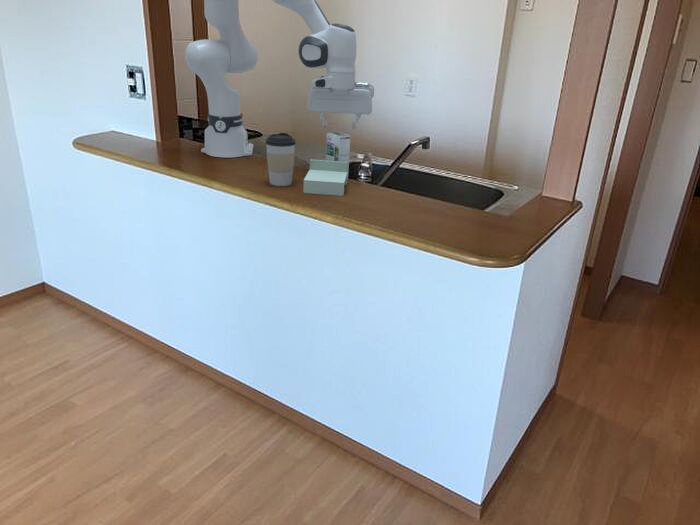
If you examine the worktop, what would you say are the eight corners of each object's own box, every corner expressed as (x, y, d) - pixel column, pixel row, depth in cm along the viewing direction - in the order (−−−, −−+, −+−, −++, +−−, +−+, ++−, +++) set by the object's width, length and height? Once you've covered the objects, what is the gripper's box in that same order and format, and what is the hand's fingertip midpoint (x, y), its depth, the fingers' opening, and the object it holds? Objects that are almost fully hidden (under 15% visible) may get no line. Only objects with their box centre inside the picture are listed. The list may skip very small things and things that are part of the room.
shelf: (309, 180, 177) (310, 159, 174) (347, 183, 176) (348, 162, 173) (303, 192, 165) (303, 170, 162) (343, 195, 165) (344, 173, 162)
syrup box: (324, 176, 182) (325, 132, 176) (338, 174, 186) (340, 130, 180) (335, 181, 178) (336, 135, 172) (349, 178, 182) (351, 134, 176)
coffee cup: (290, 188, 169) (290, 139, 162) (262, 185, 170) (261, 136, 164) (298, 180, 177) (299, 133, 170) (271, 177, 178) (271, 130, 172)
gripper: (375, 82, 172) (372, 127, 177) (309, 79, 173) (309, 123, 178) (374, 84, 166) (371, 131, 171) (306, 81, 167) (306, 127, 173)
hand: (339, 127), depth 175 cm, fingers open, 8 cm apart
